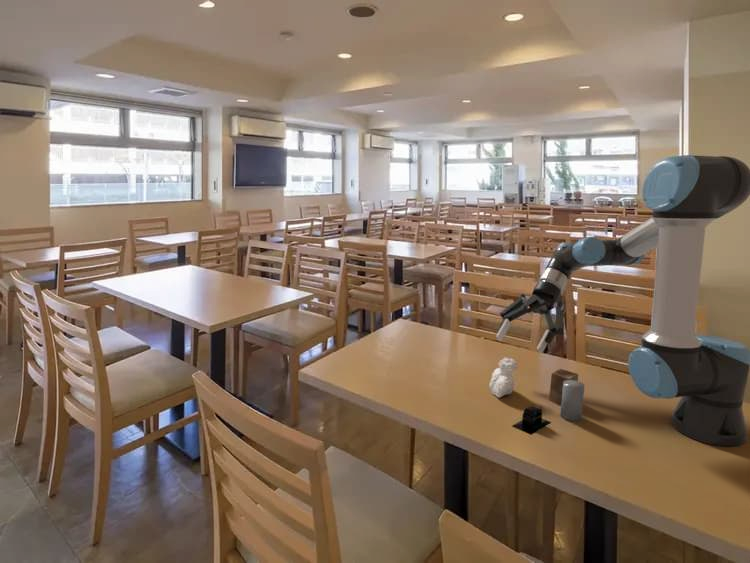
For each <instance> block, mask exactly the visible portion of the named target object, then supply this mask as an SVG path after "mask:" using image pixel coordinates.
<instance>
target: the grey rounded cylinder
mask: <svg viewBox="0 0 750 563" xmlns="http://www.w3.org/2000/svg"><path fill="white" fill-rule="evenodd" d="M584 395H585V384H584V382H583V383H582V382H581V381H579V380H578V381H574V380H566V381H564V382H563V391H562V402H561V405H560V414H559V415H560V418H562V419H563V420H564V421H567V422H571V423H572V422H575V423H577V422H580V421H581V420H582V415H583V414H582V413H583V405H584Z"/></svg>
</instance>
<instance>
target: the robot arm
mask: <svg viewBox="0 0 750 563" xmlns="http://www.w3.org/2000/svg"><path fill="white" fill-rule="evenodd" d="M641 189H642V190H641V194H642V200H643V201H644V204H645V206H646V207H647V208H648V209H649V210H652V216H651V217H650V218H649V219H647V220H645V221H644V222H642V223H640V224H639V225H638V226H636V227H634V228H633V229H631V230H630V231H628V232H626V233H625V234H624V235H622V236H619V237H618V238H617V239H604V240H603V239H600V238H598V237H596V236H588V237H587V236H586V237H584V238H581V239H579V240H578V241H576V242H568V241H567V242H565V241H564V242H561V243H559V244H558V246H557V247H556V249H555V250H554V251H553V253H552V256H551V257H550V259H549V261H548V263H547V264H546V266H545V269H544V270H543V272H542V273H541V276H540V277H539V279H538V281H537V283H536V284H535V286H534V288H533V290H532V294H531V295H530V296H527V295H525V294H524V293H521V294H520V295H519V297H518V298H517V299H516V300H514V301H513V302H512V303H510V304H509V305H508V306H507V307H506V308H504V309H503V310H502V311H500V312H499V316H500V317H501V318H502V321H501V322H500V324H499V326H498V328H499V330H498V332H497V334H496V335H495V336H496V338H497V340H498V341H499V342H502V341H503V339H504V338H505V336H506V334H507V332H508V330H509V329H510V327H511V325H512V323H511V322H512V321H514V320H516V319H518V318H521V316H523V315H526V314H530V313H534V314H539V315H544V316H545V319H546V323H547V326H548V329H546V330H544V333H543V335H542V337H541V338H540V341H539V343H538V345H537V346H536V350H537V352H538V353H539V354H543V353H544V352H545V349H546V347H547V345H548V344H549V345H550V344H551V343H552V341H553V339H554V338H555V336H556V335H561V336H563V335H564V318H563V317H564V310H565V305H564V304H563V302H562V301H559V302H558V300H559V299H560V297H561V294H562V293H563V291H564V288H565V286H567V285H566V284H567V283H568V281H569V279H570V277H571V275H572V274H573V272H576V271H578V270H581V269H583V268H585V267H601V266H603V267H605V266H631V265H637V264H640V262H642V260H643V258H644V257H645V254H646V253H648V252H651V251H652V250H654V249H656V250H657V251H656V252H657V254H656V265H655V274H654V286H653V298H652V307H651V308H652V309H651V320H650V329H649V330H648V331H647V332H645V333H643V334H642V337H641V347H637V348H635V349H633V351H632V352H631V353H629V357H628V360H627V361H628V362H627V363H628V364H627V365H628V372H629V375H630V378H631V380H632V382H633V383H634V384H635V386H636V387H637V389H638V390H639V391H640V392H641V393H642V394H643V395H646V396H647V397H650V398H652V399H667V400H671V399H674V398H680V397H681V398H680V400H678V403H677V404H676V406H675V408H674V409H673V411H672V413H671V419H670V423H671V425H672V427H673V428H674V429H675V430H676V431H677V432H679V433H681V434H682V435H684V436H686V437H688V438H690V439H693V440H695V441H698V442H701V443H703V444H709V445H713V446H719V447H738V446H741V445H744V444H745V443H746V440H747V435H748V428H747V425H746V420H745V415H744V411H743V404H744V397H745V392H746V388H747V383H748V377H749V373H750V349H749V347H748V346H746V345H745V344H743V343H741V342H737V341H735V340H731V339H727V338H724V337H720V336H715V335H709V334H704V333H703V334H701V333H699V334H695V332H696V321H697V313H698V311H697V310H698V304H699V303H698V302H699V292H700V284H701V275H702V274H701V273H702V264H703V257H704V256H703V254H704V245H705V244H704V243H705V234H706V229H707V227H708V225H709V224H711V223H712V222H714V221H715V220H718V219H719V218H721V217H724V216H725V215H727V214H729V213H731V212H733V211H734V210H736V209H737V208H738V207H740V206H741V205H742V204H744V203H745V202H746V201H747V200H748V198H749V197H750V167H749V166H748V165H747V164H746V163H745V162H743V161H742V160H740V159H738V158H735V157H731V156H726V155H721V156H720V155H719V156H716V155H715V156H713V155H711V156H710V155H693V154H692V155H690V154H689V155H688V154H687V155H686V154H684V155H674V156H669V157H665V158H663V159H660V160H659V161H657V162H656V163H655V164H654V165H653V167H652V168H650V170H649V171H648V173H647V174H646V175H645V179H644V181H643V183H642V188H641ZM528 307H529V308H528ZM553 309H555V317H556V318H555V319H556V321H555V323H556V327H555V324H554V322H553V318H552V315H551V312H550V311H551V310H553Z"/></svg>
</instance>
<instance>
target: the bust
mask: <svg viewBox="0 0 750 563" xmlns="http://www.w3.org/2000/svg"><path fill="white" fill-rule="evenodd" d="M517 369H518V363H517V362H516V360H515V358H509V357H505V356H504V357H503V359H501V360H500V361H499V362H498V367H497V368H496V369H494V371H493V372H492V374H491V379H490V381H489V384H488V386H489V387H488V388H489V390H490V392H491V394H492V395H493V396H496V397H497V398H501V397H503V396H508V395H510V394H511V393H512V392H513V389H514V388H515V376H514V375H513V373H512V372H514V371H515V370H517Z"/></svg>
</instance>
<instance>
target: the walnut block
mask: <svg viewBox="0 0 750 563" xmlns="http://www.w3.org/2000/svg"><path fill="white" fill-rule="evenodd" d="M566 380H574V381H578V382H579V374H578V373H576V372H572V371H569V370H567V369H563V368H560V369H558V370H556V371H553V372H551V377H550V390H549V399H548V401H550V402H552V403H556V404H558V405H560V406H561V402H562V391H563V382H564V381H566Z"/></svg>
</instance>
